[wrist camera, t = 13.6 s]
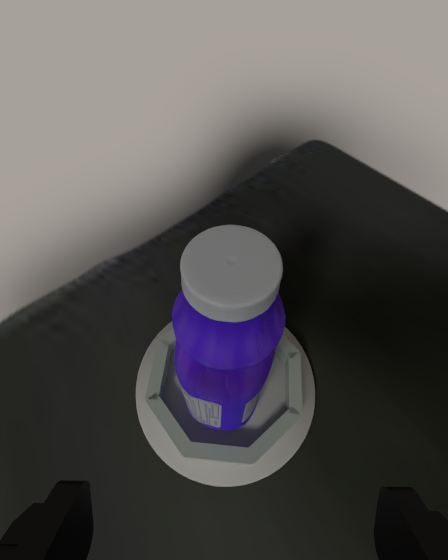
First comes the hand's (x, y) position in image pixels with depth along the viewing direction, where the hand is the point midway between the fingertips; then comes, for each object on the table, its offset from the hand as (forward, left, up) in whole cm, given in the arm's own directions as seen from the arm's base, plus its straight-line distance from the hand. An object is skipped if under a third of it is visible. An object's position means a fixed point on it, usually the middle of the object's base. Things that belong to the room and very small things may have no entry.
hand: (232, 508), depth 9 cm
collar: (-5, -6, -17) cm, 19 cm away
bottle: (-5, -6, -17) cm, 18 cm away
